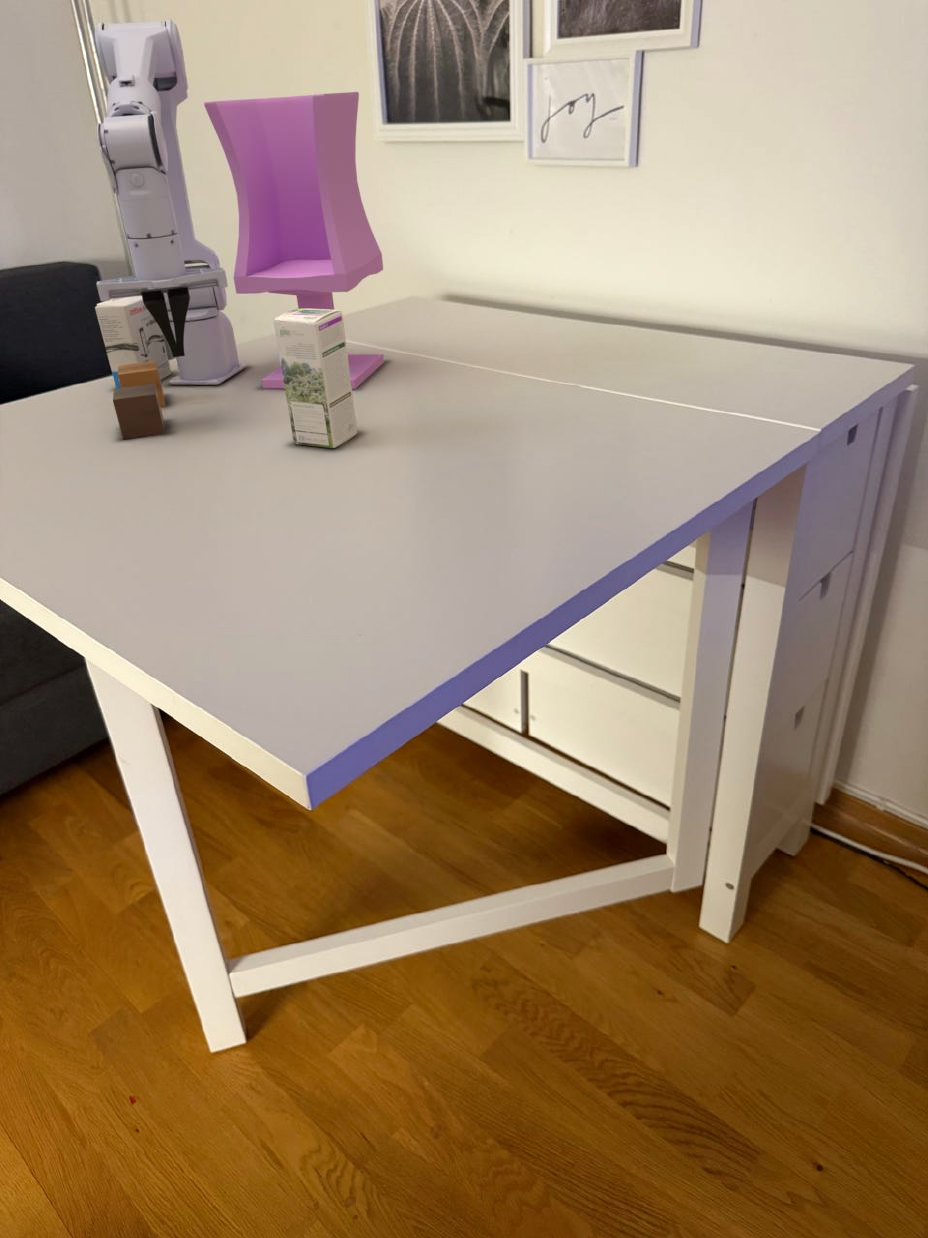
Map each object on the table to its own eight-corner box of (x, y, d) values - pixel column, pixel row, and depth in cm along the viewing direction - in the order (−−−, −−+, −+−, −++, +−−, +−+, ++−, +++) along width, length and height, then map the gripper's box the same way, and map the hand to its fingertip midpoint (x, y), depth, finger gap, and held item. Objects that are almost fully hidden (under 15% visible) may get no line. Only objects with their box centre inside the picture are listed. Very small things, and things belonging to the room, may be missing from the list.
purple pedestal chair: (253, 390, 126) (201, 101, 108) (295, 360, 139) (255, 98, 121) (359, 390, 122) (324, 93, 104) (392, 360, 135) (365, 91, 117)
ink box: (145, 389, 129) (124, 304, 123) (114, 389, 130) (92, 305, 124) (173, 373, 136) (155, 292, 130) (143, 373, 137) (124, 292, 131)
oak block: (127, 401, 124) (117, 365, 122) (164, 396, 125) (156, 360, 123) (127, 411, 120) (117, 374, 118) (165, 406, 121) (157, 369, 119)
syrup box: (359, 433, 107) (344, 307, 99) (333, 450, 102) (315, 319, 95) (319, 429, 109) (301, 305, 102) (291, 445, 105) (270, 317, 97)
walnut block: (123, 427, 114) (113, 388, 112) (164, 421, 115) (155, 383, 113) (123, 439, 110) (112, 399, 107) (165, 433, 111) (155, 393, 109)
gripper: (84, 246, 98) (116, 370, 105) (219, 232, 101) (241, 354, 108) (87, 238, 104) (117, 356, 110) (214, 225, 107) (236, 341, 114)
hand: (178, 354), depth 110 cm, fingers closed
